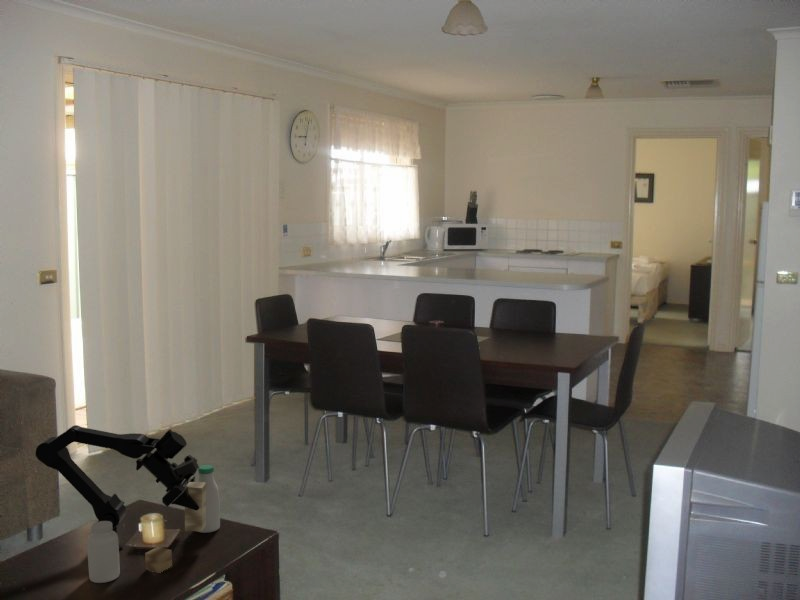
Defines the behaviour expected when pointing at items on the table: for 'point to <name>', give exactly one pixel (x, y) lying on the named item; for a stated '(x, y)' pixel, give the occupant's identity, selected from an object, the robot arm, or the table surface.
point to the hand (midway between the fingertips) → (200, 505)
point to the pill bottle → (103, 553)
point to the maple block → (198, 494)
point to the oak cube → (158, 559)
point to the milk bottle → (210, 499)
